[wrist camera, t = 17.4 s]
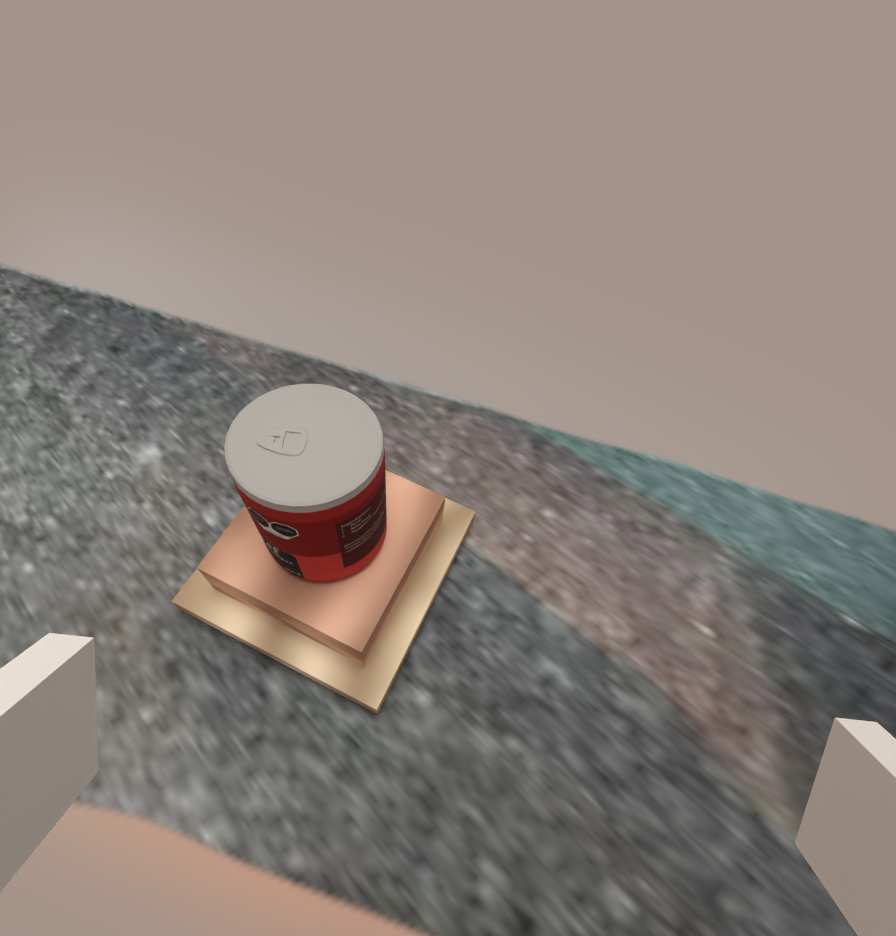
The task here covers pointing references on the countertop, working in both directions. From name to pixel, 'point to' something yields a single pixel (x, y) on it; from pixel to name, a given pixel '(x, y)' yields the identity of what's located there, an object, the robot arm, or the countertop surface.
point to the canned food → (312, 478)
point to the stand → (334, 596)
